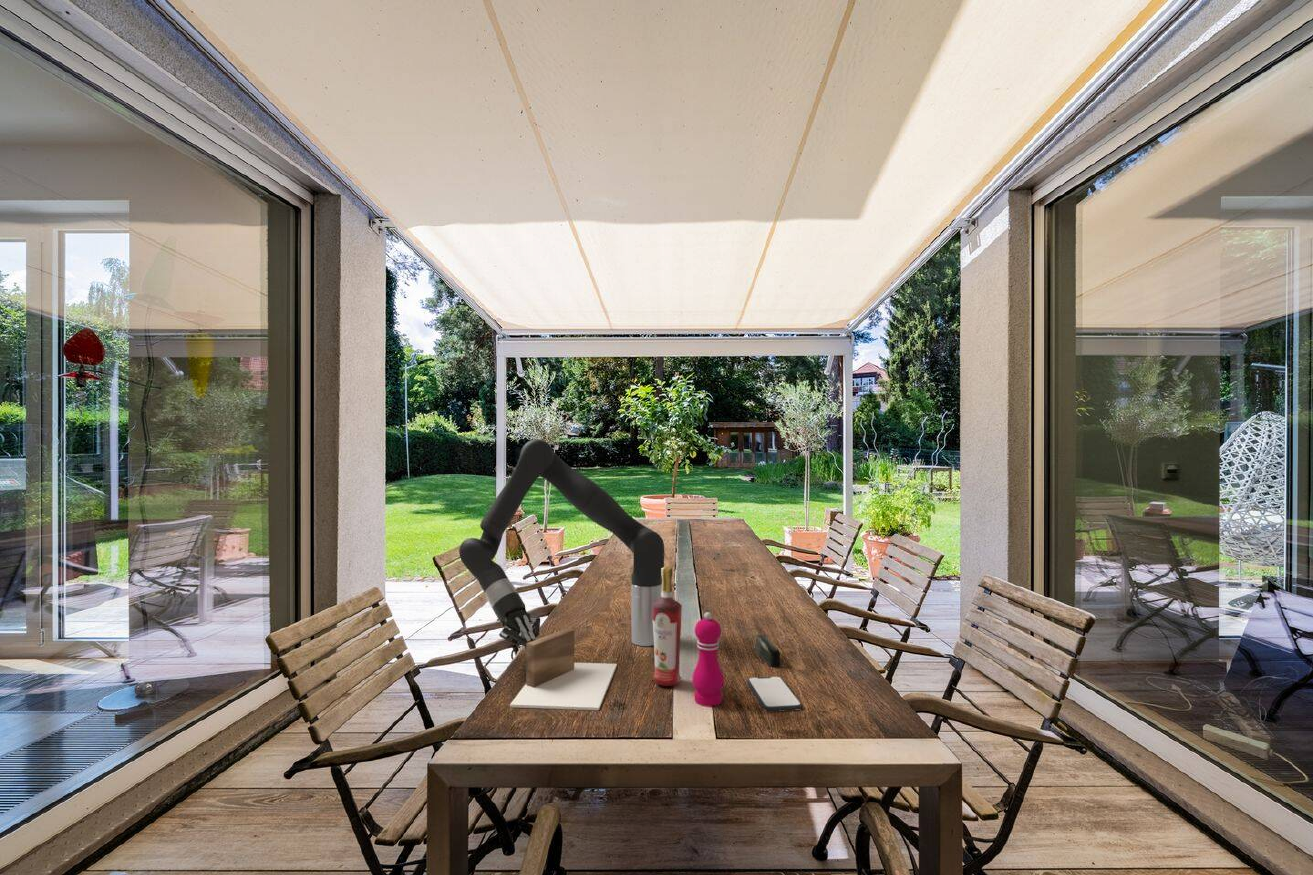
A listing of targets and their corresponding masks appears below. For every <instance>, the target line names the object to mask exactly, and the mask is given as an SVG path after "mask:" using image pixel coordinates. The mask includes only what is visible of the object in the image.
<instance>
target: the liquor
mask: <svg viewBox="0 0 1313 875" xmlns="http://www.w3.org/2000/svg"><path fill="white" fill-rule="evenodd" d="M661 576H662V591H661V600H659V601H656V602H655V603H654V604H653V605H652V616H653V636H654V646H653V651H654V652H653V653H654V654H653V655H654V675H653V677H652V679H653V681H655V682H656V683H657V684H658V685H659V686H660V685H661V687H664V686H671V687H674V686H676V685H677V684H678V683H679V682H680V681H681V679H682V677H681V674H680V655H681V654H680V653H681V651H680V650H681V634H682V632H681V631H682V609H683V608H682V607H683V605H682V604H681V603H680V602H678V601H677V600H675V599H674V597H673V587H672V580H673V579H672V578H673V567H670V566H669V567H666V566H664V568H661Z"/></svg>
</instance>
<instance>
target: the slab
mask: <svg viewBox="0 0 1313 875" xmlns="http://www.w3.org/2000/svg"><path fill="white" fill-rule="evenodd" d="M525 650H526V652H525V653H526V656H525V657H526V660H525V661H526V662H525V663H526V665H525V666H526V668H525V669H526V670H525V671H526V672H525V673H526V674H525V675H526V676H525V677H526V678H525V679H526V680H525V684H526V685H527V686H530V687H533V688H534V687H537V686H539V685H541V684H543V683H545V682H547V681H550V680H552V679H554V678H556V677H558V676H561V675H563V674H565V673H567V672H569V671H572V670H574V663H575V630H574V629H570V628H565V629H562V630H560V631H559V630H558V631H557V632H553V633H551V634H548V635H546V636H543V637H540V638H538V639H537V638H536V639H535V640H534V641H532V642H529V643H526V648H525Z"/></svg>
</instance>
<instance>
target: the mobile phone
mask: <svg viewBox="0 0 1313 875" xmlns="http://www.w3.org/2000/svg"><path fill="white" fill-rule="evenodd" d="M755 640H756V641H755V645H754V646H753V648H754V649H755V650H756V652H758V654H759V655H760V657H762V659H763V660H764V661H765V662H766V664H768V666H769V667H772V668H780V666H781V658H780V657H781V651H780V650H779V649H778V648H777V647H776V646H775V644H773V643H772V642H771V640H770V638H769V637H768V636H766V635H764V634H758V635H756V638H755Z"/></svg>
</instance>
